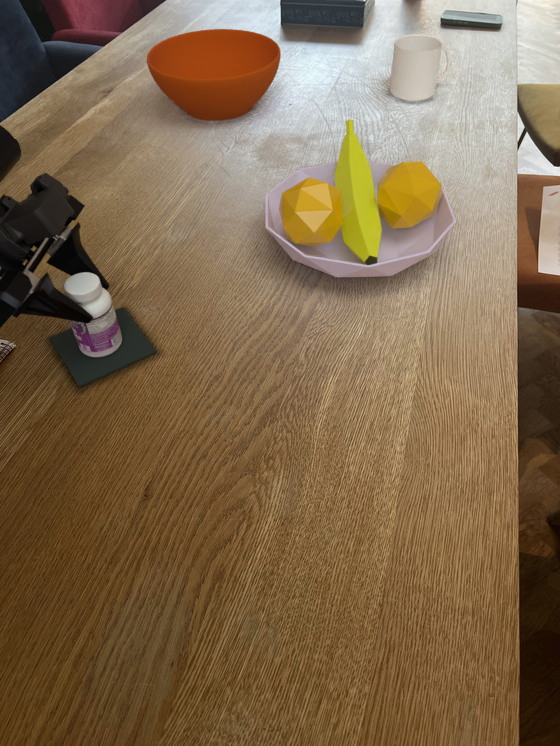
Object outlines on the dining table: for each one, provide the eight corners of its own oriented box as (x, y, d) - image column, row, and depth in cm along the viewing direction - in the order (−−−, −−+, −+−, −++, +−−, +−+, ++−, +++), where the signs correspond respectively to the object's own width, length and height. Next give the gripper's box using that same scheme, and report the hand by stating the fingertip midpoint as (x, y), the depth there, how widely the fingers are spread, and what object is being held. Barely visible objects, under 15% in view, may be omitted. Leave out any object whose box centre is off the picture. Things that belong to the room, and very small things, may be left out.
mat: (79, 388, 72) (78, 385, 71) (50, 339, 77) (49, 337, 77) (156, 353, 75) (156, 350, 75) (123, 309, 81) (122, 306, 81)
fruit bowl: (437, 315, 79) (453, 241, 70) (238, 280, 84) (231, 208, 76) (459, 200, 97) (474, 131, 88) (294, 178, 102) (294, 111, 94)
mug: (393, 102, 121) (399, 52, 114) (385, 83, 127) (390, 35, 120) (453, 99, 121) (463, 49, 115) (443, 81, 128) (451, 32, 121)
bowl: (279, 77, 131) (278, 26, 123) (283, 132, 114) (282, 76, 106) (162, 82, 131) (154, 31, 123) (148, 137, 114) (138, 82, 106)
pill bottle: (72, 341, 76) (49, 279, 69) (110, 323, 78) (92, 262, 71) (91, 365, 73) (69, 304, 66) (130, 346, 75) (113, 284, 68)
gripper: (-42, 222, 53) (109, 326, 60) (44, 124, 65) (160, 219, 72) (-85, 287, 59) (56, 374, 66) (0, 186, 72) (111, 269, 79)
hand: (99, 304), depth 71 cm, fingers closed on pill bottle, 5 cm apart
